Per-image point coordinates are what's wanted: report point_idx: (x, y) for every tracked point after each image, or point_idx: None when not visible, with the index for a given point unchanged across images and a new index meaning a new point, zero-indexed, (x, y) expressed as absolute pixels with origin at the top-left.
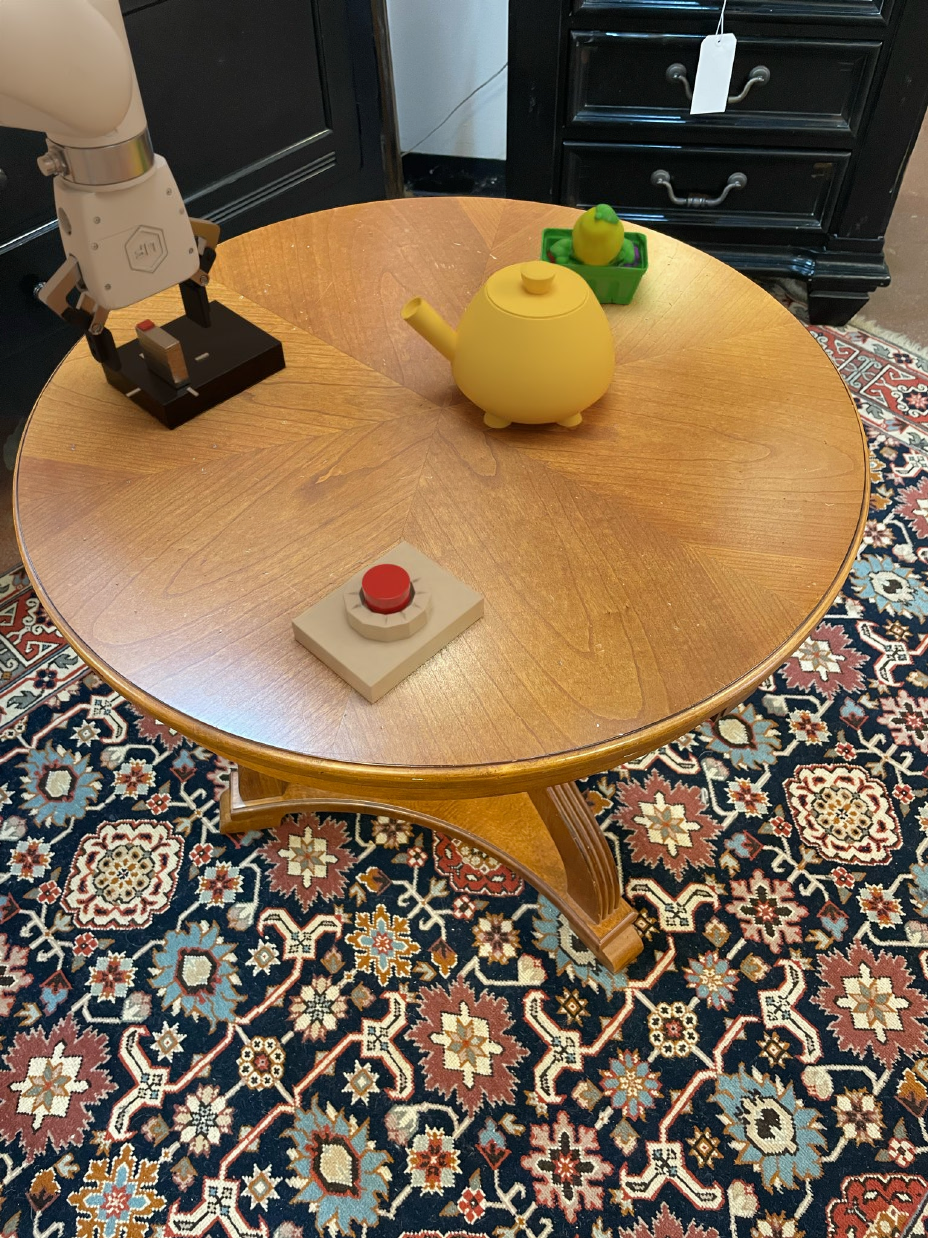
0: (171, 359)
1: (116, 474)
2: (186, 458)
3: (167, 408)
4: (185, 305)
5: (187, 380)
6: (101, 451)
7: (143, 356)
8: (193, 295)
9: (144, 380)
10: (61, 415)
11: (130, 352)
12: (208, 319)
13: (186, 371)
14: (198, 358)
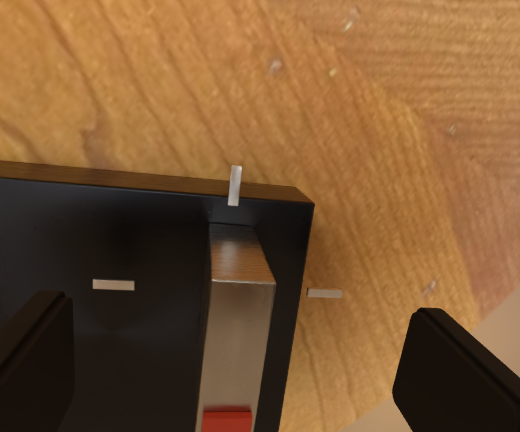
0: (255, 260)
1: (447, 167)
2: (340, 88)
3: (304, 199)
4: (54, 424)
5: (216, 226)
6: (413, 242)
7: None
8: (4, 421)
9: (276, 311)
10: (378, 371)
11: None
12: (34, 303)
13: (214, 233)
14: (126, 283)
